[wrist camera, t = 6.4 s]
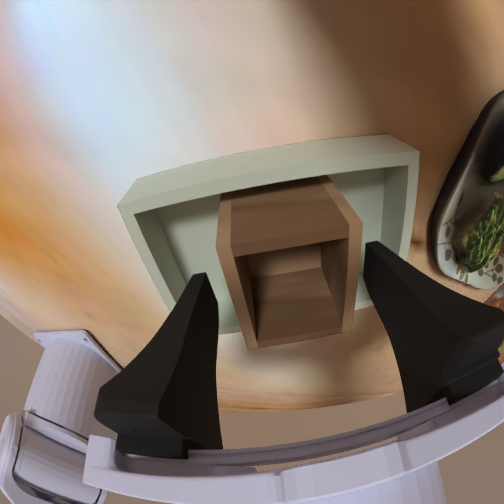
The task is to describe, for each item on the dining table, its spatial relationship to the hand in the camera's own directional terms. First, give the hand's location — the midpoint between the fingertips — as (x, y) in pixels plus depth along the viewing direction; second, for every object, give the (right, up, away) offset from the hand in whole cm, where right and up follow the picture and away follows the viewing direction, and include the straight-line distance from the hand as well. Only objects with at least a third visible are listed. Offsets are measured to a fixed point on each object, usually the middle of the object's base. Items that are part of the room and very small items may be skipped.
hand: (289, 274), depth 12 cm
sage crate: (0, +2, +3) cm, 4 cm away
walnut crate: (0, +2, +3) cm, 3 cm away
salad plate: (+18, +6, +2) cm, 20 cm away
